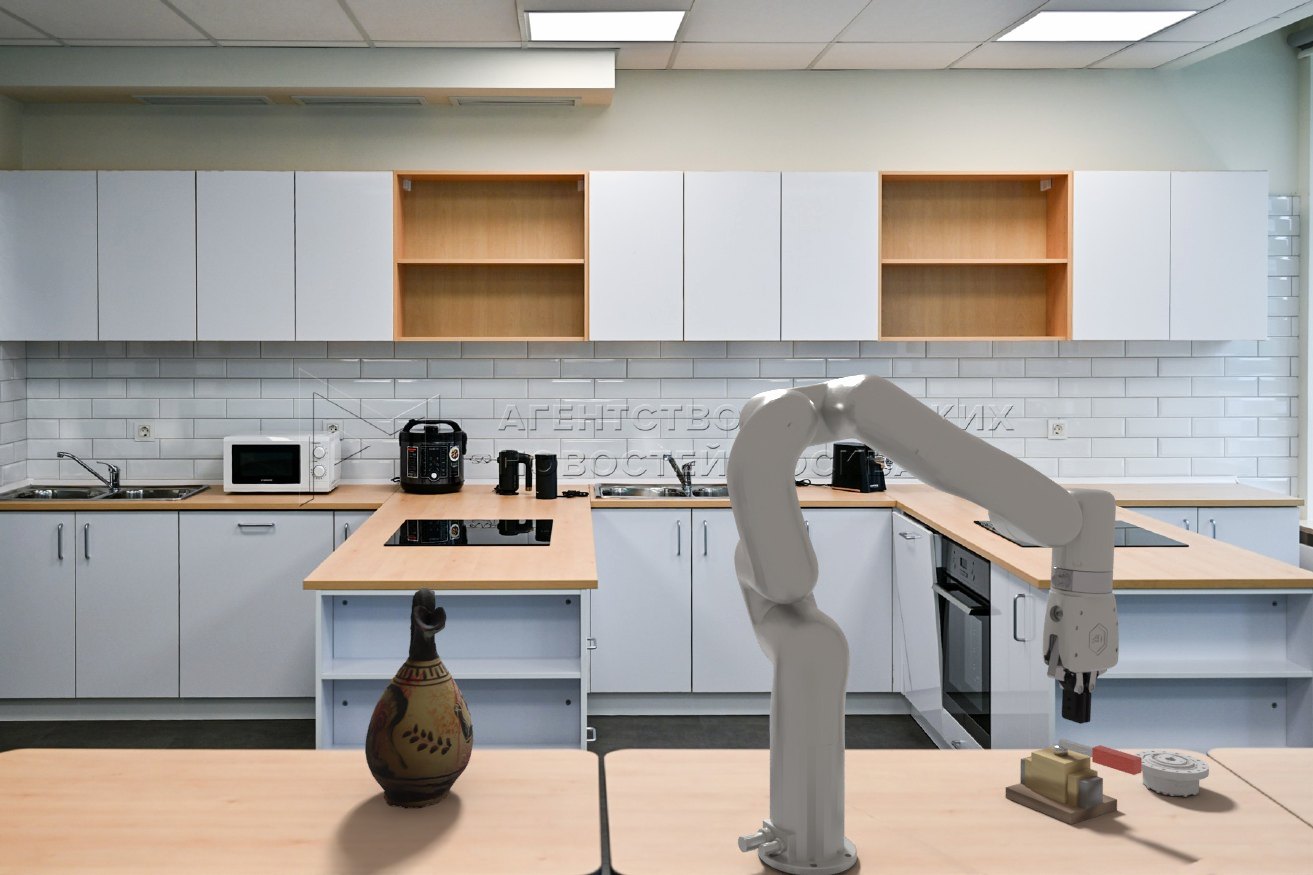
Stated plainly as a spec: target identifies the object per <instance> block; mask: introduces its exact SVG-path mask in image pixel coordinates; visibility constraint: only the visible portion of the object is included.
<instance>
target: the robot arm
mask: <svg viewBox="0 0 1313 875" xmlns="http://www.w3.org/2000/svg"><path fill="white" fill-rule="evenodd" d="M738 418H739V420H738V426H739V431H738V433H737V435H736V437H735V439H734V442H733V443H732V444H733V445H732V447H731V449H730V453H729V456H728V461H727V468H726V485H727V486H726V487H727V492H728V498H729V502H730V506H731V509H732V510H731V511H732V514H733V517H734V522H735V525H736V529H737V532H738V536H739V540H738V542H737V543H736V546H735V549H734V558H733V561H734V567H735V569H734V570H735V574H736V578H737V581H738V584H739V588H740V591H741V594H742V595H741V596H742V598H743V601H744V604H745V607H746V611H747V613H748V617H749V621H750V623H751V627H752V630H753V633H754V636H755V639H756V642H757V644H758V647H759V648H760V650H761V651H762V653H763V654H764V656H765V657H766V658H767V659H768V661H770V663H771V665H772V668H773V669H772V672H773V673H772V685H771V686H772V687H771V693H770V702H769V703H770V707H769V818H766V819H765V818H764V819H762V828H760V829H758V831H757V832H756V833H748V834H745V835H741V836H738V839H737V845H738V848H739V850H740V851H741V852H742V853H748V852H751V851H755V850H757V854H758V857H759V858H760V860H762V861H763V862H764V864H766V865H768V866H769V867H771V868H773V869H776V870H779V871H780V872H784V873H787V874H792V875H836V874H839V873H843V872H845V871H847V870H849V869H850V868H851V867H853V866H854V865H855V864H856V862H857V858H858V857H857V856H858V855H857V854H858V853H857V852H858V850H857V847H856V844H854V842H853V841H852V840H850V839H849V838H848V837H847V836H845V814H846V813H845V802H846V800H845V799H846V797H845V796H846V794H845V793H846V792H845V791H846V790H845V789H846V788H845V786H846V785H845V784H846V783H845V779H846V776H845V774H846V773H845V767H846V764H845V763H846V756H845V754H846V752H845V750H846V748H845V745H846V744H845V743H846V742H845V741H846V739H845V737H846V734H845V732H846V731H845V729H846V726H845V724H846V722H845V721H846V716H845V714H846V696H847V689H848V681H849V676H850V675H849V674H850V666H851V664H850V663H851V656H850V655H851V654H850V653H851V652H850V648H849V643H848V639H847V636H846V635H845V632H844V631H843V629H842V628H841V626H840V625H839V624H838V623H837V622H836V621H835V620H834V619H833V618H832V617H831V616H829V615H827V613H825V612H823V611H822V610H821V609H819V608H818V605H817V602H816V599H815V596H814V592H813V591H814V590H815V587H816V586H817V583H818V579H819V562H818V558H817V554H816V552H815V548H814V547H813V546H814V545H813V544H812V541H811V537H810V535H809V531H808V528H807V524H806V521H805V519H804V515H803V512H802V508H801V504H800V501H799V497H798V493H797V488H796V480H795V478H796V476H795V475H796V468H797V466H798V465H797V464H798V462H799V460H800V457H801V456H802V454H803V452H804V451H805V450H807V448H808V447H809V448H811V447H815V446H819V445H825V444H829V443H831V444H832V443H834V442H840V441H845V440H849V439H856V440H857V441H859V442H861V443H862V444H863V445H864V446H867V447H869V448H870V449H871V450H873V451H874V452H875V453H877V454H880V455H882V456H883V457H884V458H886V459H887V460H888V461H890V462H892V463H893V464H894V465H896V466H898V467H899V468H901V469H902V470H904V472H906V473H908V474H909V475H911V476H913V477H914V478H915V479H917V480H918V481H920V482H921V483H923V484H925V485H927V486H929V487H931V488H934V489H935V490H937V491H940V492H942V493H945V494H948V495H952V496H954V497H958V498H961V499H964V500H966V501H968V502H971V503H973V504H975V505H977V506H979V507H981V508H983V509H985V510H986V511H987V512H988V513H987V515H988V518H989V521H990V523H991V525H992V526H993V528H994V529H995V530H996V531H997V532H998V533H1000V534H1001V535H1002V536H1004V537H1006V538H1008V539H1012V540H1014V541H1016V542H1017V541H1018V542H1021V543H1026V544H1031V545H1035V546H1039V547H1041V548H1048V549H1051V564H1050V565H1051V568H1050V569H1051V570H1050V571H1051V572H1050V591H1049V595H1048V599H1047V604H1046V608H1045V614H1044V623H1043V632H1042V659H1043V662H1044V664H1045V665H1046V666H1048V667H1047V672H1046V676H1047V677H1048V678H1050V679H1054V680H1057V681H1058V683H1059V688H1060V689H1061V690H1062V693H1061V694H1062V696H1061V717H1062V718H1063V719H1064V720H1068V721H1070V722H1074V723H1076V724H1077V723H1078V724H1079V725H1080V724H1081V725H1082V724H1085V723H1090V722H1091V718H1092V717H1091V716H1092V715H1091V713H1092V693H1093V692H1094V691H1095V688H1096V682H1097V678H1098V677H1099V676H1101V675H1103V674H1106V672H1108V669H1112V668H1113V667H1115V666H1116V665H1118V662H1119V650H1120V649H1119V646H1120V645H1119V642H1120V641H1119V640H1120V639H1119V638H1120V637H1119V636H1120V633H1119V618H1118V617H1119V616H1118V607H1117V600H1116V596H1115V593H1114V592H1113V585H1114V583H1113V582H1114V579H1113V578H1114V563H1115V562H1114V560H1115V559H1114V558H1115V538H1116V535H1115V534H1116V532H1115V531H1116V513H1117V512H1116V511H1117V508H1116V506H1117V505H1116V498H1115V495H1113V493H1112V492H1110V491H1107V490H1103V489H1098V488H1097V489H1095V488H1078V487H1077V488H1076V487H1075V488H1074V487H1072V488H1071V487H1068V488H1064V487H1062V486H1061V485H1060V484H1059V483H1057V482H1055V481H1054V480H1052V479H1051V478H1049V477H1048V476H1046V475H1045V474H1043V473H1042V472H1041V471H1039V470H1038V469H1036V468H1034V467H1033V466H1031V465H1029V464H1028V463H1026V462H1024V461H1023V460H1021V459H1020V458H1017V457H1015V456H1013V455H1011V454H1010V453H1007V452H1005V451H1004V450H1002V449H1000V448H998V447H996V446H994V445H992V444H990V443H989V442H987V441H985V440H984V439H982V438H980V437H978V436H976V435H975V434H971V433H969V432H968V431H966V430H964V429H963V428H961V427H959V426H958V425H956V424H954V423H953V422H951V421H950V420H949V419H947V418H945V417H944V416H943V415H941V414H939V413H938V412H936V411H935V410H933V409H932V408H930V407H929V406H928V405H927V404H924V403H923V402H921V401H920V400H918V399H917V398H916V397H914V396H913V395H911V394H910V393H908V392H906V391H905V390H904V389H902V388H900V387H899V386H898V385H896V384H894V383H893V382H891V381H890V380H888V379H886V378H885V377H882V376H879V375H877V374H870V373H865V374H864V373H862V374H858V375H852V376H851V375H849V376H847V377H846V376H845V377H841V378H838V379H837V378H836V379H832V380H828V381H824V382H819V383H814V384H809V385H802V386H796V387H790V388H789V387H788V388H782V389H774V390H769V391H764V392H761V393H758V394H756V395H753V396H752V397H751V398H750V399H748V400H747V402H746V403H745V404H744V405H743V407H742V409H741V411H740V415H739V417H738Z"/></svg>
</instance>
